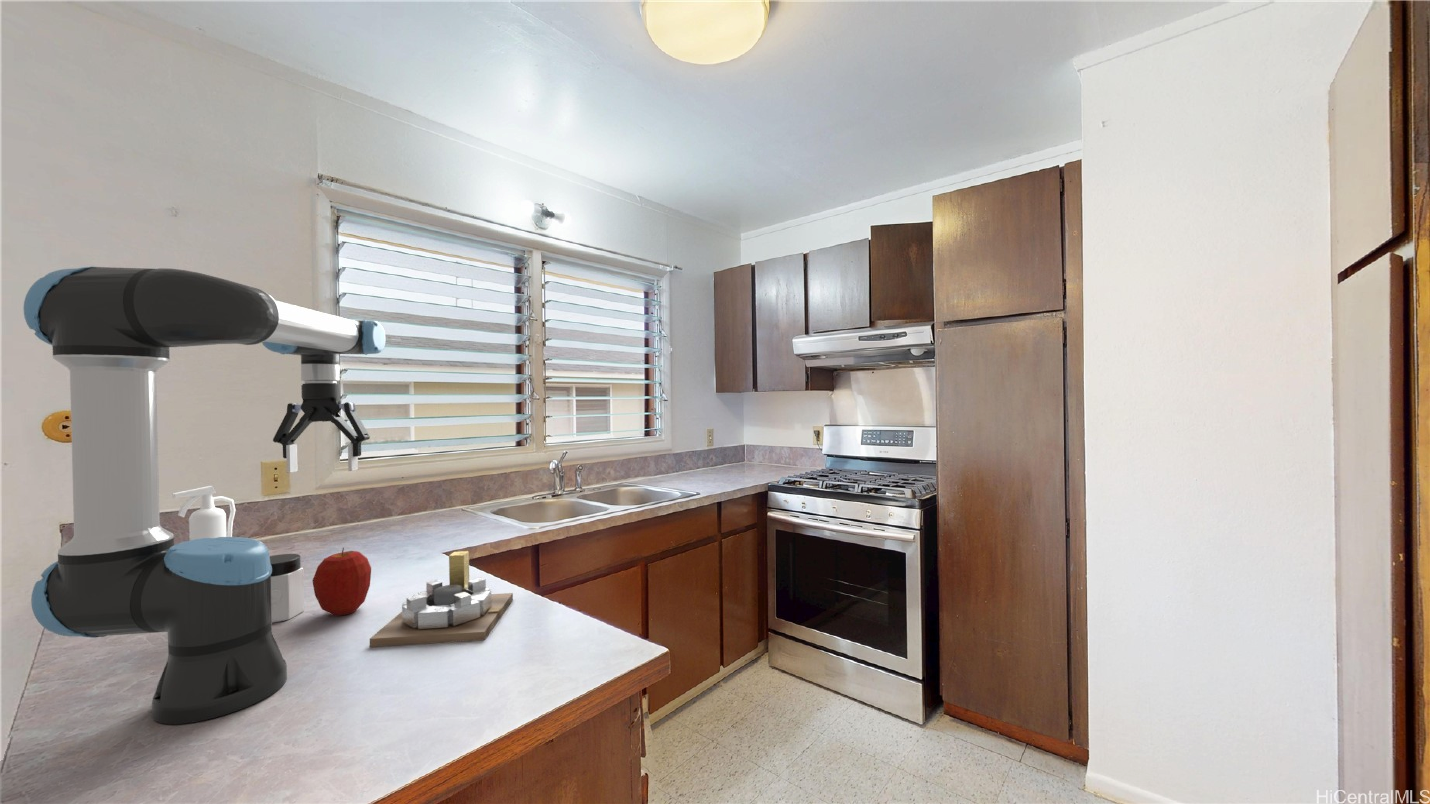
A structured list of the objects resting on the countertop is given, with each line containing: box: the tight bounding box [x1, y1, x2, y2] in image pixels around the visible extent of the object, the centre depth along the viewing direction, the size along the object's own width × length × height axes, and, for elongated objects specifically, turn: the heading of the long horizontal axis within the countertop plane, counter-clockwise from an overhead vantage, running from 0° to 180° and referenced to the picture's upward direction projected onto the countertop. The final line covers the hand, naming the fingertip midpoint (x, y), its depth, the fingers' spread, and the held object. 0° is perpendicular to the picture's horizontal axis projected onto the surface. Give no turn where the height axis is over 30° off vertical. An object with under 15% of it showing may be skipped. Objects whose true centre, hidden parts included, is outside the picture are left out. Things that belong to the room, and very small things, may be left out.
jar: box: [269, 553, 305, 624], centre depth 112 cm, size 9×8×12 cm
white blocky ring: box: [401, 550, 492, 629], centre depth 109 cm, size 16×15×10 cm
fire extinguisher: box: [172, 485, 237, 541], centre depth 129 cm, size 7×12×25 cm, turn 147°
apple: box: [312, 547, 372, 617], centre depth 114 cm, size 10×10×14 cm
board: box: [369, 584, 514, 648], centre depth 109 cm, size 20×20×6 cm
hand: (322, 471), depth 129 cm, fingers open, 13 cm apart
